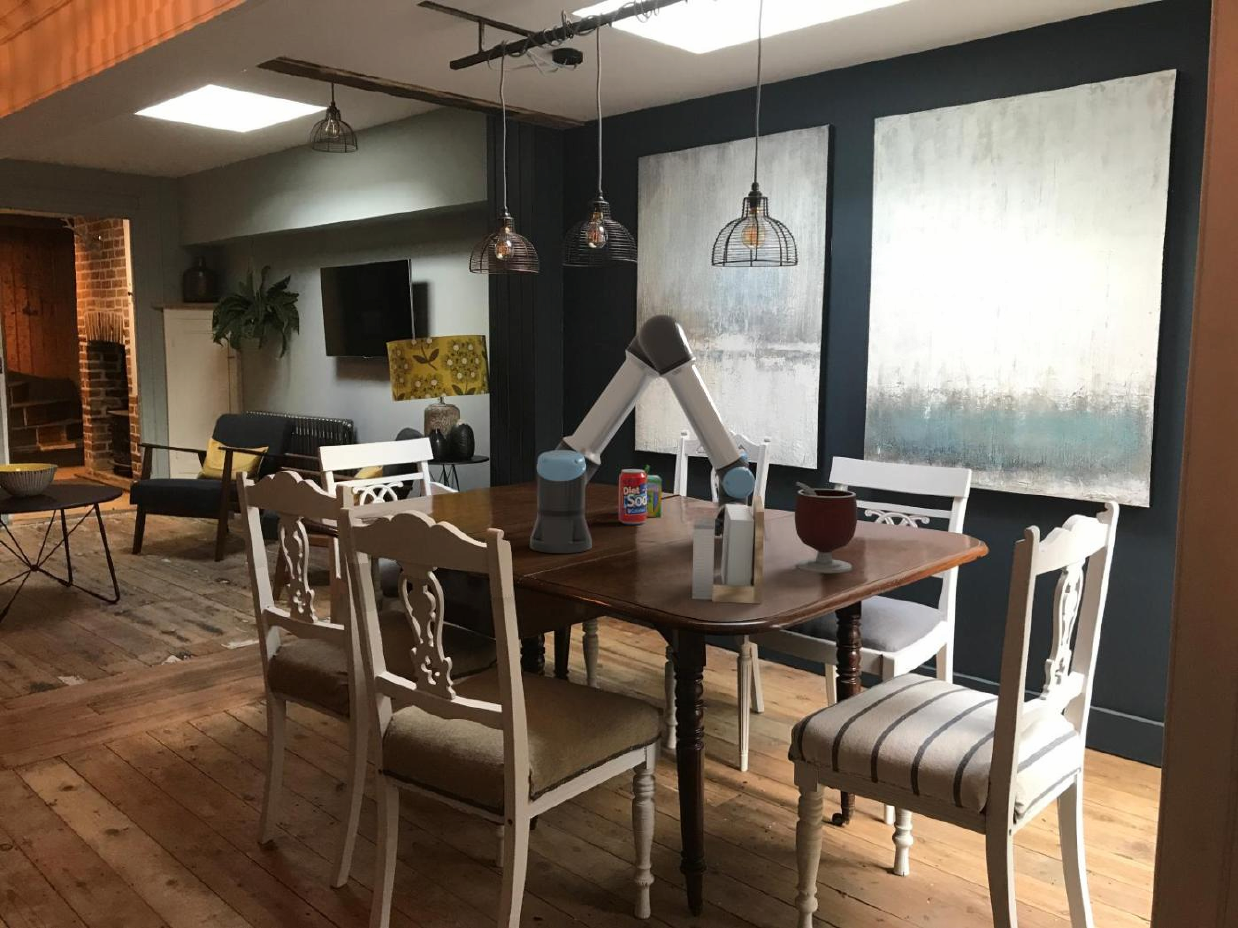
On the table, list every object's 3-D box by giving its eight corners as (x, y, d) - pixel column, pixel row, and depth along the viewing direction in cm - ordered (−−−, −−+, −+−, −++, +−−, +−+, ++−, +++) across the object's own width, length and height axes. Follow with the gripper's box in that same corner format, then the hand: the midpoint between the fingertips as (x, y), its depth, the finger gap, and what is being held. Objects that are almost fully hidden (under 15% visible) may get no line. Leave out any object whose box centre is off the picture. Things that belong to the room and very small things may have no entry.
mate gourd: (827, 558, 237) (830, 474, 235) (868, 570, 225) (871, 482, 222) (775, 564, 230) (777, 478, 227) (813, 576, 217) (817, 486, 215)
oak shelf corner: (712, 601, 195) (714, 510, 193) (714, 576, 217) (716, 494, 215) (761, 603, 194) (764, 511, 192) (758, 577, 216) (760, 495, 214)
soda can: (630, 519, 287) (631, 467, 285) (652, 522, 282) (652, 470, 281) (612, 523, 281) (613, 470, 279) (634, 526, 276) (635, 472, 274)
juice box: (626, 512, 299) (626, 463, 298) (656, 512, 300) (657, 463, 299) (630, 517, 290) (631, 467, 288) (661, 517, 291) (662, 467, 290)
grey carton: (692, 598, 197) (693, 524, 195) (693, 589, 205) (695, 518, 203) (712, 599, 197) (714, 525, 195) (713, 589, 205) (715, 518, 203)
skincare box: (752, 599, 198) (755, 520, 196) (725, 598, 198) (727, 519, 196) (745, 575, 219) (747, 503, 217) (720, 574, 219) (722, 502, 217)
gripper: (758, 535, 247) (759, 554, 224) (705, 533, 249) (700, 552, 226) (758, 505, 246) (760, 521, 223) (705, 503, 248) (701, 519, 225)
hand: (730, 537), depth 224 cm, fingers closed
